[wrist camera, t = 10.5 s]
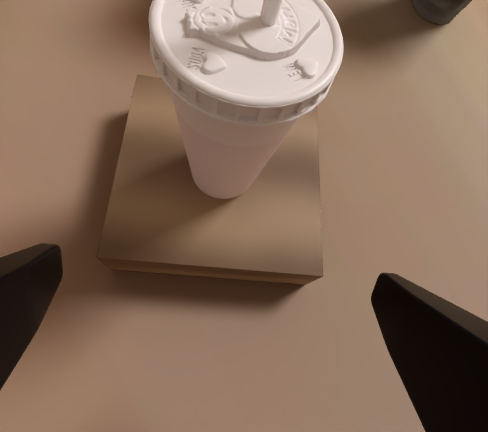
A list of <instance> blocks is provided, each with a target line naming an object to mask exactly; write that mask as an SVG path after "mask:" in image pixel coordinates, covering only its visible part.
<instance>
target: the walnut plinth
mask: <svg viewBox="0 0 488 432" xmlns="http://www.w3.org/2000/svg"><path fill="white" fill-rule="evenodd" d="M97 258H98V259H99V260H100V261H101V262H103V263H104V264H105V265H106V266H107V267H108V268H110V269H115V270H128V271H141V272H153V273H166V274H178V275H191V276H203V277H216V278H229V279H241V280H254V281H266V282H279V283H291V284H304V285H306V284H308V283H310V282H312V281H314V280H316V279H318V278H321V277H323V256H322V229H321V202H320V176H319V149H318V122H317V106H316V107H315V108H314V109H313V110H312V111H311V112H309V113H307V114H305V115H303V116H301V117H300V118H299V119H298V121H297V122H296V124H295V125H294V126H293V127H292V129H291V130H290V131H289V133H288V134H287V135H286V137H285V138H284V140H283V141H282V142H281V144H280V145H279V146H278V148H277V149H276V151H275V152H274V153H273V155H272V156H271V157H270V159H269V160H268V162H267V163H266V164H265V166H264V167H263V169H262V170H261V171H260V173H259V174H258V175H257V177H256V178H255V180H254V181H253V182H252V184H251V185H250V186H249V188H248V189H247V190H246V191H245V192H244V193H243V194H241V195H239V196H237V197H234V198H230V199H218V198H214V197H211V196H209V195H207V194H205V193H204V192H203V191H201V190H200V189H199V188H198V186H197V185H196V184H195V182H194V180H193V177H192V173H191V169H190V165H189V161H188V158H187V154H186V150H185V146H184V142H183V138H182V135H181V131H180V127H179V123H178V119H177V115H176V112H175V108H174V104H173V101H172V97H171V93H170V90H169V88H168V87H167V86H166V84H165V83H164V82H163V80H162V79H161V78H157V77H150V76H144V75H137V78H136V82H135V87H134V91H133V96H132V100H131V105H130V109H129V114H128V118H127V122H126V127H125V131H124V136H123V140H122V145H121V149H120V154H119V158H118V163H117V167H116V172H115V176H114V181H113V185H112V190H111V194H110V199H109V203H108V208H107V212H106V217H105V221H104V225H103V230H102V234H101V239H100V243H99V248H98V252H97Z"/></svg>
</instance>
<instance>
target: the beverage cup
mask: <svg viewBox="0 0 488 432" xmlns="http://www.w3.org/2000/svg"><path fill="white" fill-rule="evenodd" d="M471 1H472V0H413V6H414V8H415V10H416V11H417V13H418V14H419V15H420V16H422V17H423V18H424V19H426V20H428V21H430V22H432V23H436V24H447V23H449V22H450V21H452V20H453V18H454V17H455V16H456V15H457V14H458V13H459V12H460V11H461V10H462V9H464V8H465V7H466V6H467V5H468V4H469V3H470V2H471Z"/></svg>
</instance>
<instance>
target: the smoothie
mask: <svg viewBox="0 0 488 432" xmlns="http://www.w3.org/2000/svg"><path fill="white" fill-rule="evenodd" d="M149 30H150V54H151V57H152V60H153V63H154V66H155V69H156V72H157V73H158V75H159V76H160V77H161V79H162V80H163V82H164V83H165V84H166V86H167V87H168V88H169V90H170V93H171V97H172V101H173V104H174V108H175V112H176V115H177V119H178V123H179V127H180V131H181V135H182V138H183V142H184V146H185V150H186V154H187V158H188V161H189V165H190V169H191V173H192V177H193V180H194V182H195V184H196V185H197V186H198V188H199V189H200V190H201V191H203V192H204V193H205V194H207V195H209V196H211V197H214V198H218V199H230V198H234V197H237V196H239V195H241V194H243V193H244V192H245V191H246V190H247V189H248V188H249V186H250V185H251V184H252V182H253V181H254V180H255V178H256V177H257V175H258V174H259V173H260V171H261V170H262V169H263V167H264V166H265V164H266V163H267V162H268V160H269V159H270V157H271V156H272V155H273V153H274V152H275V151H276V149H277V148H278V146H279V145H280V144H281V142H282V141H283V140H284V138H285V137H286V135H287V134H288V133H289V131H290V130H291V129H292V127H293V126H294V125H295V124H296V122H297V121H298V119H299V118H300V117H301V116H303V115H305V114H307V113H309V112H311V111H312V110H313V109H314V108H315V107H316V106H317V105H318V104H319V103H320V102H321V101H322V100H323V99H324V98H325V97H326V95H327V93H328V91H329V89H330V86H331V84H332V82H333V80H334V77H335V75H336V74H337V72H338V70H339V67H340V65H341V62H342V58H343V37H342V33H341V29H340V27H339V24H338V22H337V20H336V18H335V16H334V14H333V13H332V11H331V9H330V8H329V7H328V6H327V4H326V3H325V2H324V0H153V1H152V4H151V7H150V11H149Z"/></svg>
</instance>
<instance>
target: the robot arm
mask: <svg viewBox="0 0 488 432" xmlns="http://www.w3.org/2000/svg"><path fill="white" fill-rule="evenodd" d="M62 274H63V270H62V259H61V250H60V247H59V246H58V245H55V244H44V243H43V244H38V245H35V246H33V247H30V248H27V249H24V250H21V251H18V252H15V253H12V254H10V255H7V256H4V257H1V258H0V390H1V388H2V387H3V385H4V384H5V382H6V380H7V379H8V377H9V375H10V374H11V372H12V371H13V369H14V367H15V366H16V364H17V363H18V361H19V359H20V358H21V356H22V355H23V353H24V351H25V350H26V348H27V346H28V345H29V343H30V342H31V340H32V338H33V337H34V335H35V333H36V332H37V330H38V328H39V326H40V324H41V322H42V320H43V318H44V316H45V314H46V311H47V309H48V307H49V305H50V303H51V301H52V299H53V296H54V294H55V292H56V290H57V288H58V286H59V284H60V282H61V279H62ZM371 303H372V306H373V309H374V312H375V315H376V318H377V321H378V324H379V326H380V329H381V332H382V335H383V338H384V341H385V344H386V346H387V349H388V351H389V354H390V356H391V358H392V360H393V362H394V365H395V367H396V369H397V371H398V373H399V375H400V378H401V380H402V382H403V384H404V386H405V388H406V391H407V393H408V395H409V397H410V399H411V401H412V403H413V406H414V408H415V410H416V412H417V414H418V416H419V419H420V421H421V423H422V425H423V427H424V429H425V432H488V322H487V321H485V320H483V319H481V318H479V317H477V316H476V315H474V314H472V313H470V312H468V311H466V310H464V309H462V308H460V307H458V306H456V305H454V304H452V303H451V302H449V301H447V300H445V299H443V298H441V297H439V296H437V295H435V294H433V293H431V292H429V291H428V290H426V289H424V288H422V287H420V286H418V285H416V284H414V283H412V282H410V281H408V280H406V279H404V278H403V277H401V276H399V275H397V274H394V273H381V274H380V275H379V276H378V279H377V281H376V284H375V287H374V290H373V292H372V296H371Z"/></svg>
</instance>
